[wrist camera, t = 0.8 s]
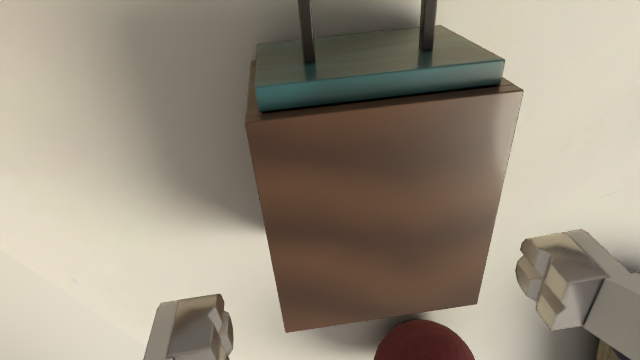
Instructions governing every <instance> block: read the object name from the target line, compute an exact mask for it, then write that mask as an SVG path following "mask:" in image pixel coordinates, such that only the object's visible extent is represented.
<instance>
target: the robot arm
mask: <svg viewBox="0 0 640 360" xmlns="http://www.w3.org/2000/svg"><path fill="white" fill-rule="evenodd" d="M520 250H521V252H522V253H523V254H524V255H523V256H522V257H521V258H520V259H519V260H518V261H517V265H516V270H515V271H516V276H517V281H518V283H519V285H520V287H521V289H522V291H523V292H524V293H525V295H526V296H528V297H529V298H531V299H533V300H535V301H536V311H537V312H538V313H539V315H540V316H541V318H542V319H543V320H544V322H545V323H546V325H547V326H548V327H549V329H550V330H551V331H554V330H560V329H566V328H573V327H579V326H584V327H583V328H585V329H586V330H588V331H589V332H591V333H592V334H594V335H595V336H597V337H598V338H600V339H601V340H603V341H604V342H606V343H607V344H609V345H610V346H612V347H613V348H615V349H616V350H617V351H619V352H620V353H622V354H623V355H625V356H626V357H628V358H629V359H631V360H640V274H639V273H630V272H629V271H628V270H627V269H626V268H625V267H624V266H622V265H621V264H620V263H619V262H618V261H617V260H616V259H615V258H614V257H613V256H612V255H611V254H610V253H609V252H608V251H607V250H606V249H605V248H604V247H602V246H601V245H600V244H599V243H598V242H597V241H596V240H595V239H594V238H593V237H592V236H591V235H590V234H589V233H588V232H586V231H584V230H582V229H579V230H574V231H568V232H563V233H556V234H551V235H545V236H540V237H535V238H529V239H525V240H524V241H523V242H522V245H521V248H520ZM232 350H233V327H232V322H231V318H230V316H229V313H228V312H226V311H224V300H223V298H222V296H221V294H214V295H207V296H201V297H194V298H187V299H181V300H176V301H169V302H163V303H161V304H160V305H159V307H158V308H157V311H156V314H155V318H154V322H153V326H152V329H151V333H150V337H149V340H148V344H147V348H146V352H145V355H144V359H143V360H229V357H228V355H229V354H230V352H231V351H232Z"/></svg>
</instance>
